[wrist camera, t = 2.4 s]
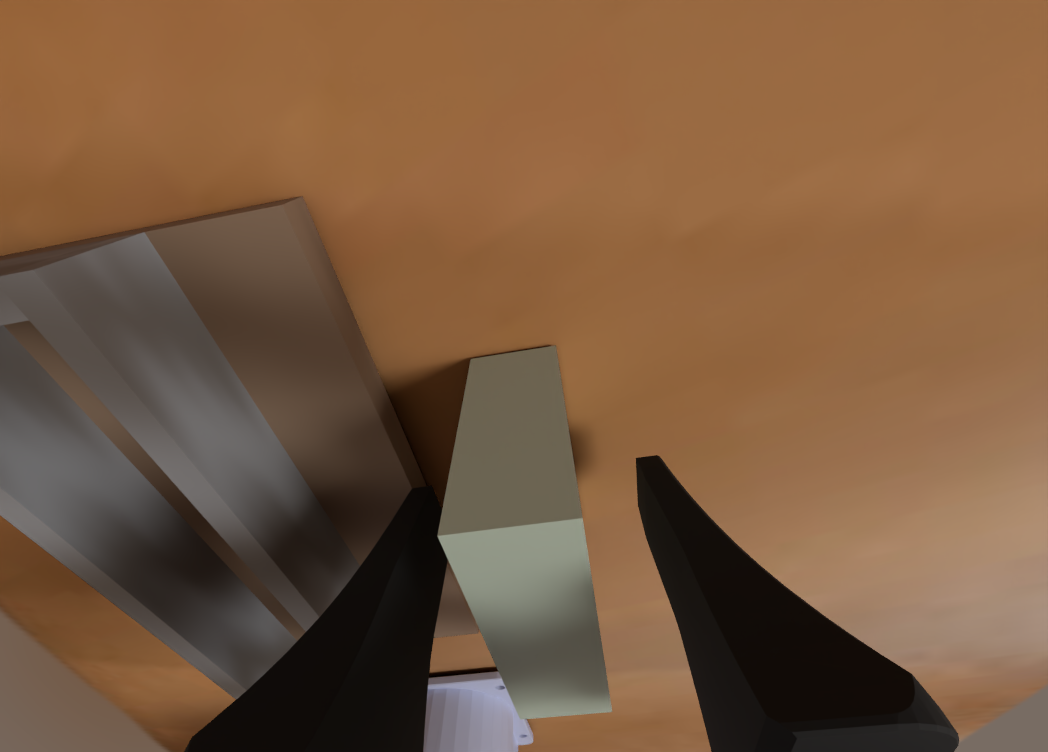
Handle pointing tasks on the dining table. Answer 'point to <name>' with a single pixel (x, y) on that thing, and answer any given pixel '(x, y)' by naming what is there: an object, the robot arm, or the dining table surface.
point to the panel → (524, 536)
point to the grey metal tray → (201, 431)
